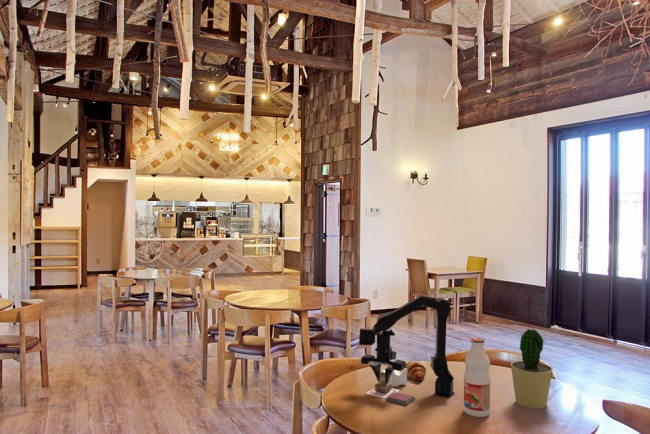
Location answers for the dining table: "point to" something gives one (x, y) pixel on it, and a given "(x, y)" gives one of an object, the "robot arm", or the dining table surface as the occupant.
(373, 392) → the paper card
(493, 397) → the dining table surface
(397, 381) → the bracket
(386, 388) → the stamp
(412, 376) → the croissant
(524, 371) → the potted cactus
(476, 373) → the fruit juice
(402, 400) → the ink pad
